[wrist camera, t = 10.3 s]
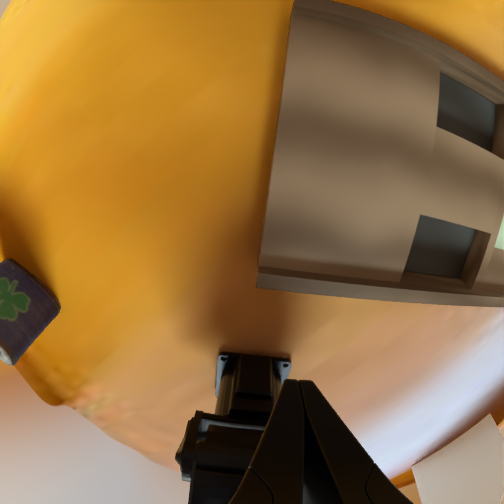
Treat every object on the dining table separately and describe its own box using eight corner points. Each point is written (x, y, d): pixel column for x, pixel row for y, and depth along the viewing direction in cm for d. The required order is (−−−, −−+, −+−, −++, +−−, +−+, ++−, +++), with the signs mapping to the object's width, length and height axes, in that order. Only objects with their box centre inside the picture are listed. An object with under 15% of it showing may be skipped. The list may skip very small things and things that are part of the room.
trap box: (507, 291, 21) (525, 307, 17) (257, 263, 20) (256, 287, 17) (544, 135, 14) (566, 139, 11) (290, 16, 13) (295, -7, 10)
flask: (5, 269, 22) (-56, 318, 12) (6, 249, 21) (-60, 297, 11) (60, 317, 24) (4, 384, 14) (64, 299, 23) (1, 368, 13)
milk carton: (431, 470, 40) (451, 545, 17) (411, 465, 37) (433, 558, 14) (496, 426, 34) (528, 499, 11) (489, 412, 31) (530, 504, 8)
